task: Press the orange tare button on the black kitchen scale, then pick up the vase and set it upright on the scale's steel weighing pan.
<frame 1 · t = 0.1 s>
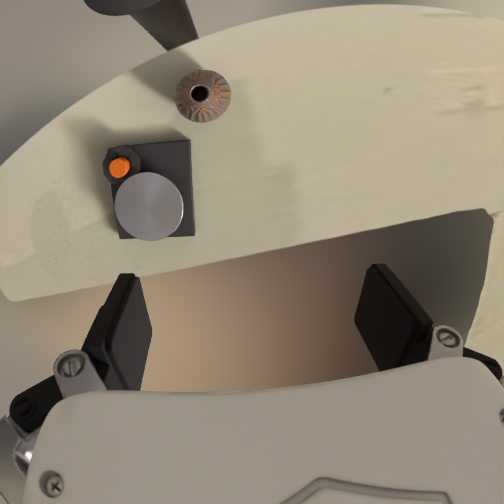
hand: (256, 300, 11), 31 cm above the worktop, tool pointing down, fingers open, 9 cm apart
vase: (204, 97, 34), on the worktop
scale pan: (148, 207, 37), on the scale, point 3 cm above the worktop
tare button: (119, 167, 34), point 3 cm above the worktop, slide at 0.1 cm
scale: (152, 190, 39), on the worktop
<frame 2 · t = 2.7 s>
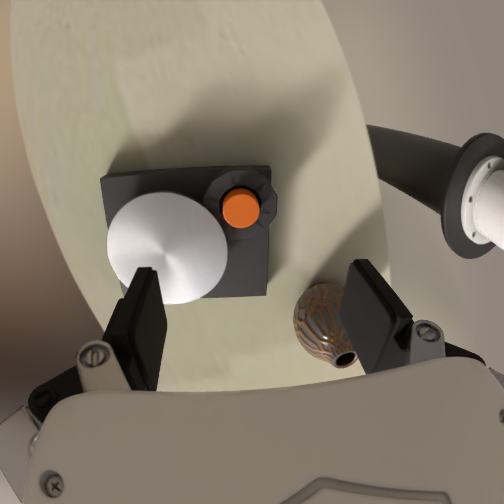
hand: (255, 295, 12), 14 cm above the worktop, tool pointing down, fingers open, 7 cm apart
vase: (318, 298, 30), on the worktop
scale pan: (165, 252, 22), on the scale, point 3 cm above the worktop
tare button: (240, 207, 21), point 3 cm above the worktop, slide at 0.1 cm
scale: (188, 234, 25), on the worktop
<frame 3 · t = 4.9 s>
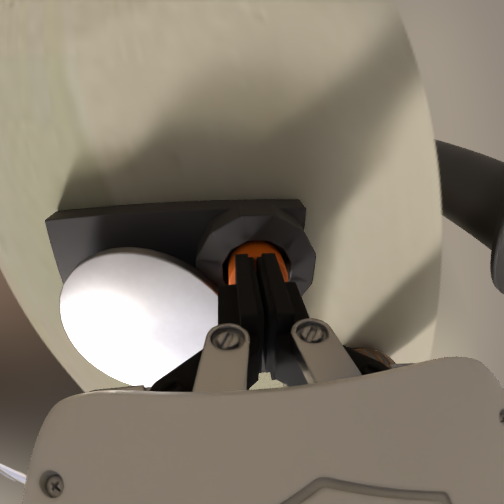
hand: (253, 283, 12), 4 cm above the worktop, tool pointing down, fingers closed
vase: (349, 362, 22), on the worktop
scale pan: (143, 333, 14), on the scale, point 3 cm above the worktop
tare button: (257, 273, 13), point 3 cm above the worktop, slide at -0.2 cm, touching gripper
scale: (177, 296, 17), on the worktop
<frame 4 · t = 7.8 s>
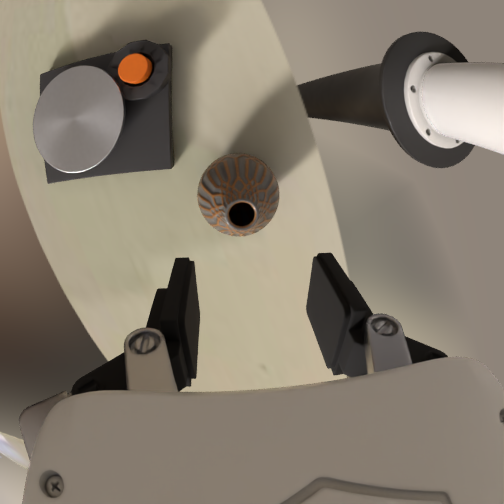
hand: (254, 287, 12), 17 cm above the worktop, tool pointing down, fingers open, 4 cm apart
vase: (236, 183, 28), on the worktop
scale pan: (75, 119, 19), on the scale, point 3 cm above the worktop
tare button: (135, 68, 18), point 3 cm above the worktop, slide at 0.1 cm
scale: (103, 114, 22), on the worktop
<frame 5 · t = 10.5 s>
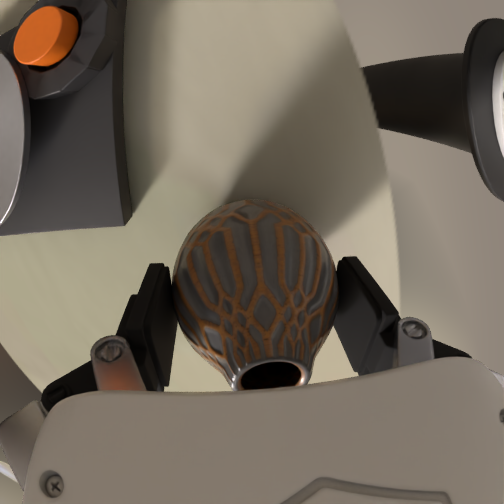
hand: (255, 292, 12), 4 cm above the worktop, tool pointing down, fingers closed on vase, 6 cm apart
vase: (247, 244, 16), on the worktop, touching gripper
tare button: (45, 36, 6), point 3 cm above the worktop, slide at 0.1 cm
scale: (17, 127, 11), on the worktop
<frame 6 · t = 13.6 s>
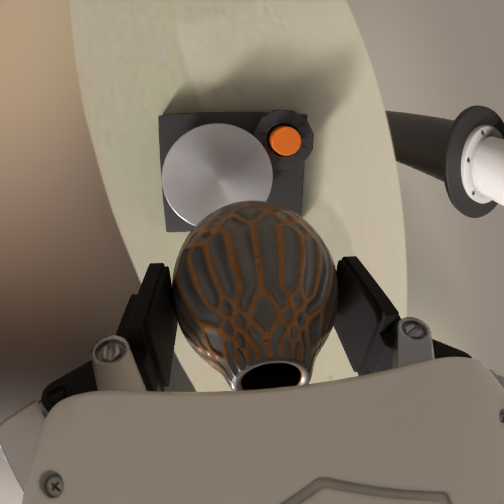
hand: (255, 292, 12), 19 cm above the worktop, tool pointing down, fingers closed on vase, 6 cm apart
vase: (247, 245, 16), point 15 cm above the worktop, touching gripper
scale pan: (216, 178, 25), on the scale, point 3 cm above the worktop
tare button: (285, 140, 24), point 3 cm above the worktop, slide at 0.1 cm
scale: (232, 170, 28), on the worktop
when the fingers open (8 cm above the worktop, at t = 16.8 s): vase stays where it is, resting on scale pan.
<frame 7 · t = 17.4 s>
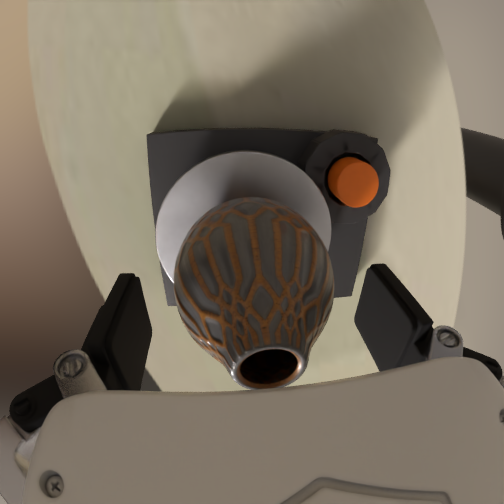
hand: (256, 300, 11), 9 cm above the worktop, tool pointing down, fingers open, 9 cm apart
vase: (246, 241, 16), point 3 cm above the worktop, touching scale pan
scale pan: (244, 240, 16), on the scale, point 3 cm above the worktop
tare button: (353, 181, 15), point 3 cm above the worktop, slide at 0.1 cm
scale: (263, 218, 19), on the worktop
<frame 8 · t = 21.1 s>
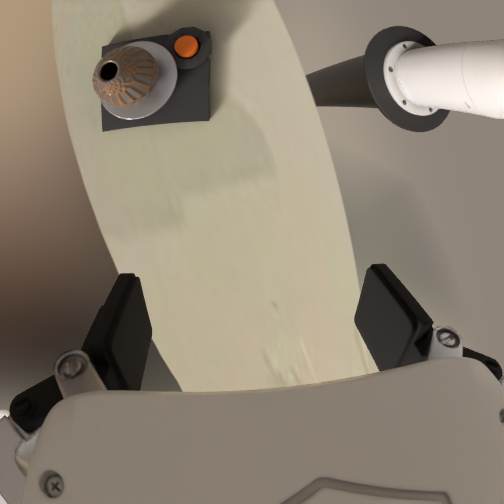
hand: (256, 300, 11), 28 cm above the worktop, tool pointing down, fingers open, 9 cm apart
vase: (136, 79, 27), point 3 cm above the worktop, touching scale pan
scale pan: (136, 79, 27), on the scale, point 3 cm above the worktop
tare button: (186, 46, 25), point 3 cm above the worktop, slide at 0.1 cm
scale: (154, 80, 30), on the worktop
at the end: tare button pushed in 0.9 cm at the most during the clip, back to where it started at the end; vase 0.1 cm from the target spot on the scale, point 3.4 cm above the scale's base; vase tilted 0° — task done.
